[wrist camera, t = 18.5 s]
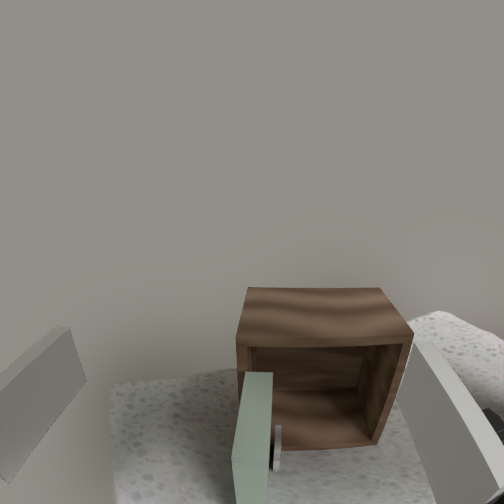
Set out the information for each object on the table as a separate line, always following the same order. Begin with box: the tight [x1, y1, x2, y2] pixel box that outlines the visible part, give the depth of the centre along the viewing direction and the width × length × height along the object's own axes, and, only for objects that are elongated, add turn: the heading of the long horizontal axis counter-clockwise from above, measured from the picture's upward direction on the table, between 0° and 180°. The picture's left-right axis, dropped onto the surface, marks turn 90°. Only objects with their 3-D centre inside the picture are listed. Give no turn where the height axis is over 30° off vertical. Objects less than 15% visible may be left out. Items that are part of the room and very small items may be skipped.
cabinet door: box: [231, 372, 273, 504], centre depth 28 cm, size 12×3×16 cm, turn 175°
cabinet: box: [236, 287, 414, 472], centre depth 38 cm, size 18×20×20 cm
